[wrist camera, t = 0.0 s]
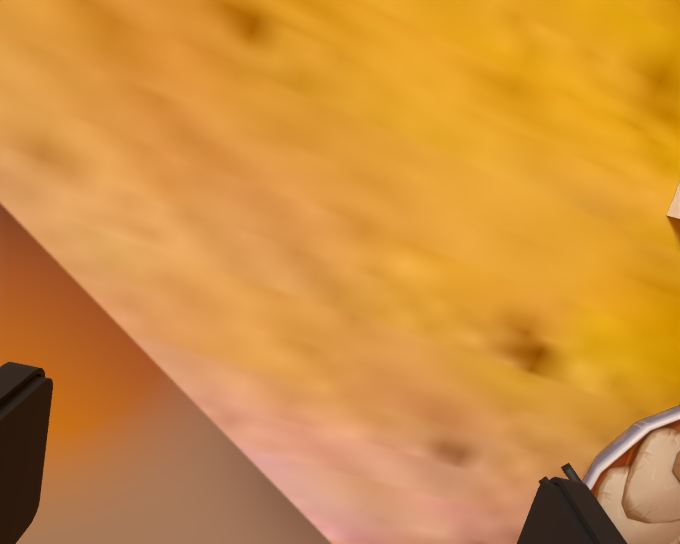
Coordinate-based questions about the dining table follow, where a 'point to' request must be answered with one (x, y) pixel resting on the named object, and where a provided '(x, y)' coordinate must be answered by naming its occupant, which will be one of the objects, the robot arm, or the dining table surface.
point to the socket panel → (675, 205)
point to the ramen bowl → (640, 480)
